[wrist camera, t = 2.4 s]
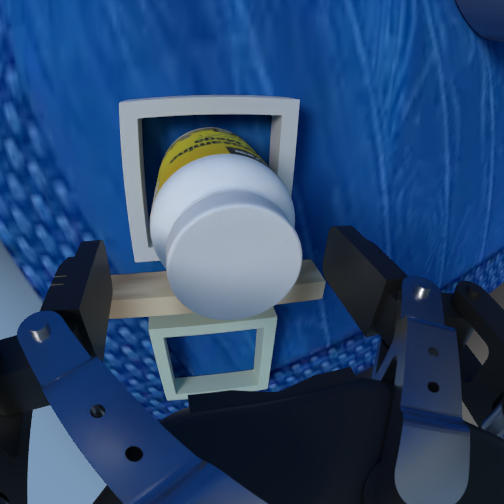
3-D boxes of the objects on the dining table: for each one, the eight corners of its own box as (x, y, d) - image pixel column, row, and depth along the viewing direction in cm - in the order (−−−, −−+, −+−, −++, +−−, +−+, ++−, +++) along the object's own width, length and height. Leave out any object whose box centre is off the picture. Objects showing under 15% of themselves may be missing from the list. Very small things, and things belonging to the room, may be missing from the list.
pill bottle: (260, 128, 19) (343, 186, 10) (249, 217, 22) (305, 330, 13) (160, 124, 18) (139, 179, 8) (158, 216, 21) (151, 339, 11)
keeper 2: (270, 300, 26) (277, 316, 25) (262, 373, 32) (267, 388, 30) (149, 312, 24) (148, 329, 23) (166, 384, 30) (167, 400, 28)
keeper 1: (288, 97, 18) (299, 99, 17) (277, 237, 23) (285, 250, 22) (125, 100, 16) (119, 102, 15) (137, 246, 21) (135, 262, 20)
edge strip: (310, 259, 25) (325, 281, 23) (308, 275, 26) (322, 298, 23) (103, 275, 22) (96, 301, 19) (107, 292, 23) (102, 319, 20)
